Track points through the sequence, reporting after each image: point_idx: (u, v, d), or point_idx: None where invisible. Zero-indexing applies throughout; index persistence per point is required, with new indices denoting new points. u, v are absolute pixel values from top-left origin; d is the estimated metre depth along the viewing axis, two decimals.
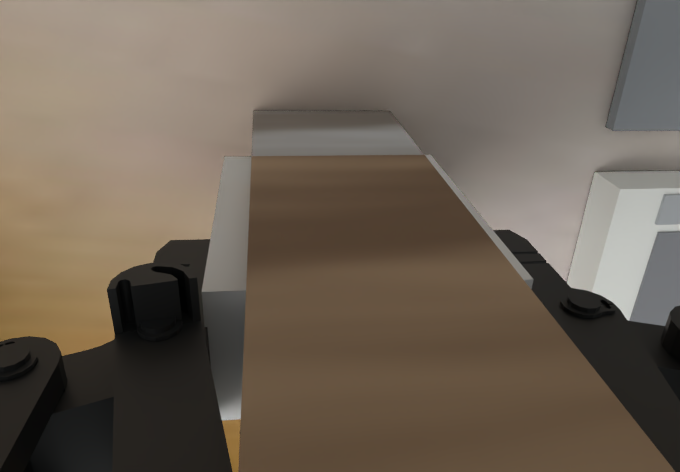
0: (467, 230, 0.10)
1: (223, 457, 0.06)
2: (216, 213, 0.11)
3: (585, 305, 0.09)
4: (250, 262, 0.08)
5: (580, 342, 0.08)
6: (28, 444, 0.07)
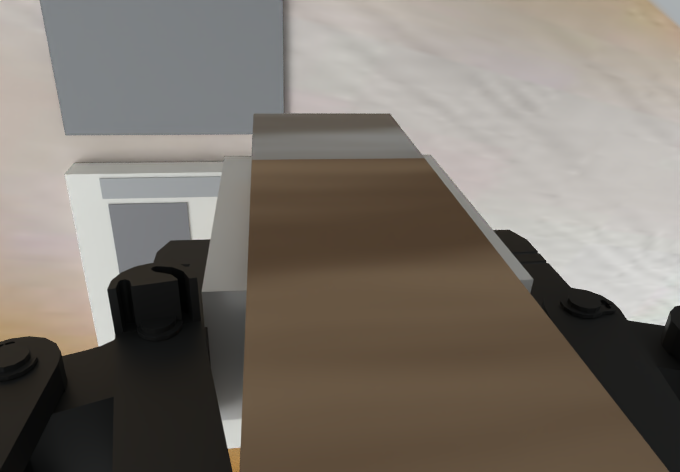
0: (467, 235, 0.10)
1: (223, 457, 0.06)
2: (216, 213, 0.11)
3: (585, 305, 0.09)
4: (250, 267, 0.08)
5: (580, 342, 0.08)
6: (28, 444, 0.07)
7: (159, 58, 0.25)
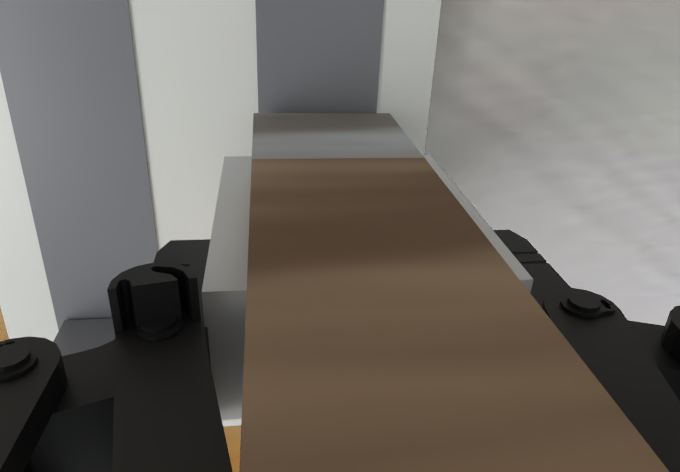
0: (467, 234, 0.10)
1: (223, 457, 0.06)
2: (216, 213, 0.11)
3: (585, 305, 0.09)
4: (250, 266, 0.08)
5: (580, 342, 0.08)
6: (29, 444, 0.07)
7: None
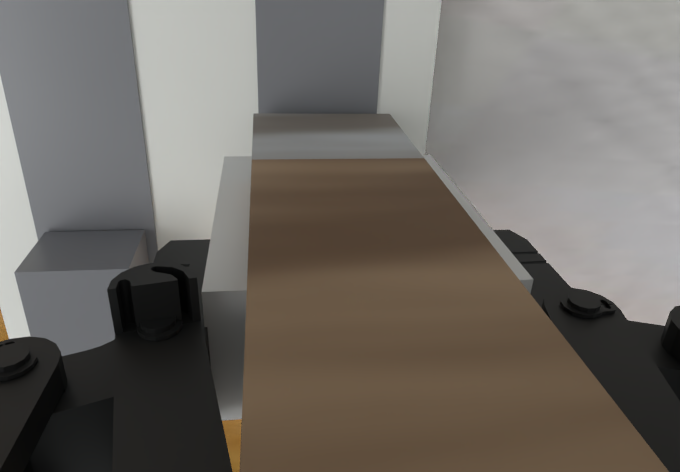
0: (467, 234, 0.10)
1: (223, 457, 0.06)
2: (216, 213, 0.11)
3: (585, 305, 0.09)
4: (250, 267, 0.08)
5: (580, 342, 0.08)
6: (28, 444, 0.07)
7: None
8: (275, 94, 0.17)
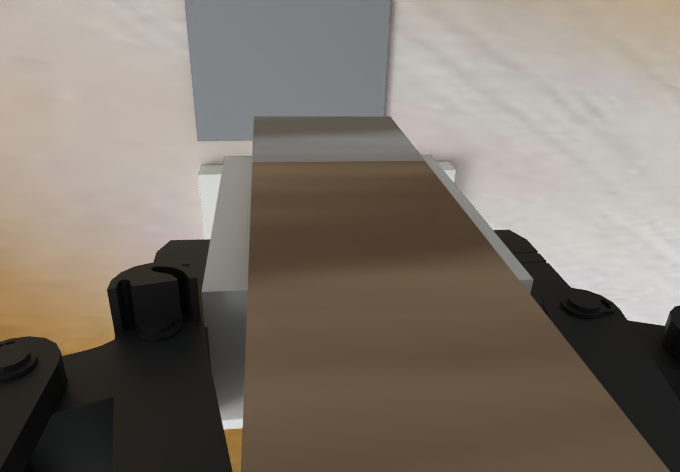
0: (468, 237, 0.10)
1: (223, 457, 0.06)
2: (216, 213, 0.11)
3: (585, 305, 0.09)
4: (251, 269, 0.08)
5: (580, 342, 0.08)
6: (28, 444, 0.07)
7: (282, 74, 0.29)
8: None
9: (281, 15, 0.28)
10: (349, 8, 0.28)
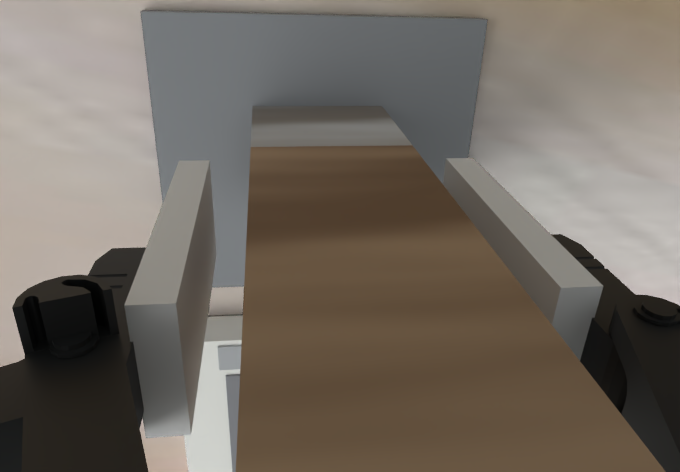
0: (448, 211, 0.11)
1: None
2: (157, 221, 0.11)
3: (660, 312, 0.09)
4: (249, 238, 0.09)
5: (653, 348, 0.08)
6: None
7: None
8: None
9: None
10: (413, 97, 0.18)
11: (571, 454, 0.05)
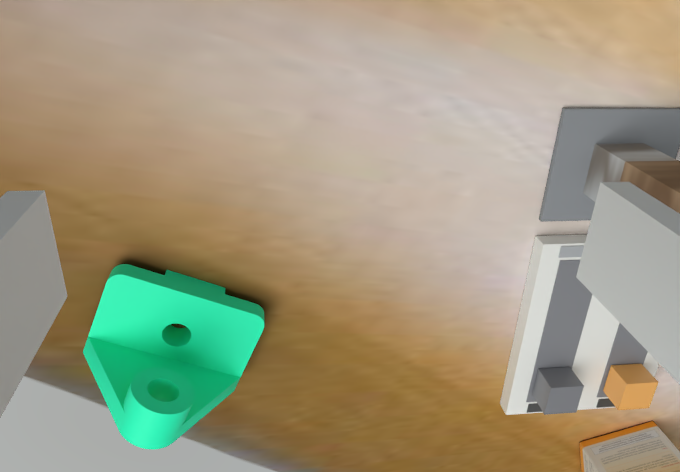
0: None
1: None
2: None
3: None
4: (671, 187, 0.35)
5: None
6: None
7: None
8: None
9: None
10: (656, 139, 0.43)
11: None
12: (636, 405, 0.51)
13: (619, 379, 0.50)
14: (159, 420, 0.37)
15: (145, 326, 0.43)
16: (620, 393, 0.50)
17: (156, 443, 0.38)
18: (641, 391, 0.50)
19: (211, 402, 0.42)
